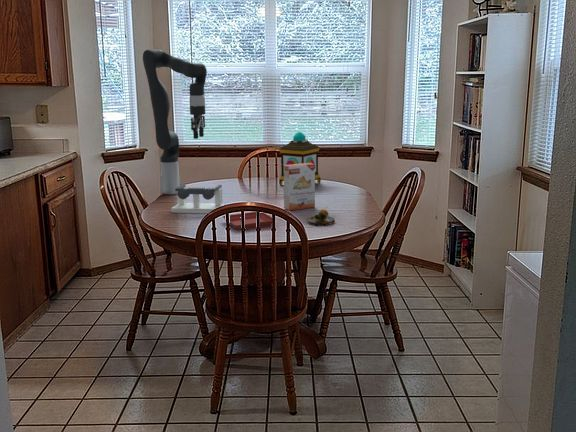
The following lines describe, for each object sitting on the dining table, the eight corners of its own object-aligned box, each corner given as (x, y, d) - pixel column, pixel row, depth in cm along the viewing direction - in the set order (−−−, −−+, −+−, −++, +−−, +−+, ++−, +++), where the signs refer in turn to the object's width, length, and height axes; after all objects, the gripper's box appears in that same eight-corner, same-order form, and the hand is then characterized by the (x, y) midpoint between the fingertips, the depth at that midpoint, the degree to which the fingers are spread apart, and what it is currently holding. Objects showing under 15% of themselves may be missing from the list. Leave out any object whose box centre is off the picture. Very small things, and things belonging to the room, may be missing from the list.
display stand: (171, 212, 275) (169, 191, 273) (180, 206, 287) (178, 186, 284) (218, 213, 271) (217, 192, 269) (225, 207, 283) (225, 187, 280)
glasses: (175, 199, 275) (175, 188, 274) (183, 194, 285) (183, 184, 284) (215, 199, 272) (214, 189, 270) (222, 195, 282) (221, 184, 281)
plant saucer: (235, 232, 239) (235, 224, 239) (222, 222, 256) (221, 215, 255) (276, 227, 246) (276, 219, 246) (261, 218, 263) (260, 210, 262)
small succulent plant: (311, 218, 259) (310, 202, 257) (337, 220, 256) (337, 203, 254) (303, 225, 248) (303, 208, 246) (331, 227, 244) (331, 209, 243)
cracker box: (289, 211, 273) (288, 166, 268) (283, 208, 278) (282, 164, 273) (315, 207, 279) (315, 163, 274) (309, 205, 284) (309, 162, 279)
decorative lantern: (295, 180, 351) (295, 129, 344) (324, 183, 340) (323, 130, 333) (275, 185, 335) (274, 132, 328) (304, 189, 324) (303, 134, 317)
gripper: (194, 103, 298) (196, 136, 302) (185, 105, 285) (186, 139, 289) (209, 104, 297) (210, 136, 301) (200, 105, 283) (201, 139, 287)
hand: (198, 137), depth 295 cm, fingers open, 8 cm apart
